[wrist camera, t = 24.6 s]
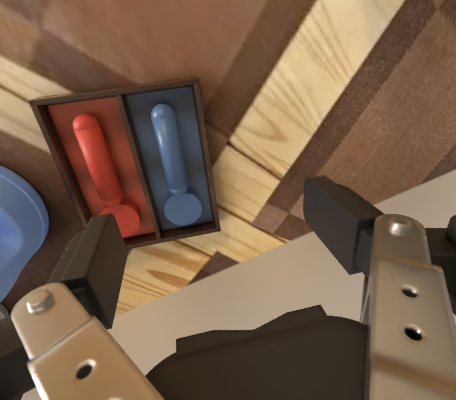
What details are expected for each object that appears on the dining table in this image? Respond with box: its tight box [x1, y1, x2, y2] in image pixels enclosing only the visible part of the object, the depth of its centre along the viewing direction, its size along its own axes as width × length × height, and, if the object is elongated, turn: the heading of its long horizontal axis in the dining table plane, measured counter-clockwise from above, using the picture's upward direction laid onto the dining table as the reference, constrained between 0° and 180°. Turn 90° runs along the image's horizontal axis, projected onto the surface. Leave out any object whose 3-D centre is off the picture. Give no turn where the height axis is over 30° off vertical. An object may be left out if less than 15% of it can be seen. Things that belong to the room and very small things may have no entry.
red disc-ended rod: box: [73, 114, 141, 237], centre depth 34 cm, size 17×5×3 cm, turn 6°
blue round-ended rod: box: [151, 104, 202, 226], centre depth 35 cm, size 17×5×3 cm, turn 6°
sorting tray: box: [29, 77, 221, 249], centre depth 36 cm, size 21×18×3 cm
